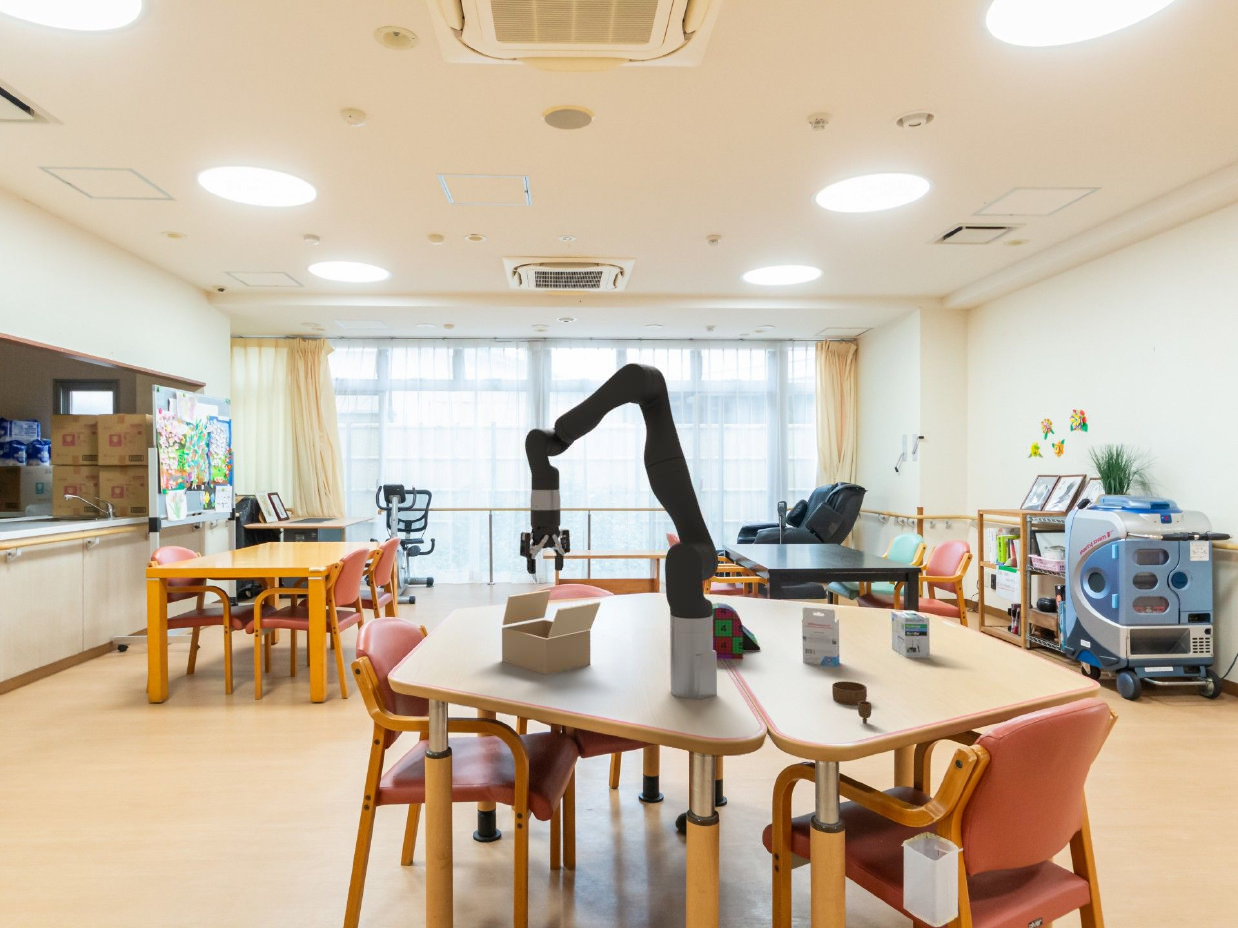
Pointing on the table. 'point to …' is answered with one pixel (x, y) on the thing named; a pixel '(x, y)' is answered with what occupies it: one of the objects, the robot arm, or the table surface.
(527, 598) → the far flap
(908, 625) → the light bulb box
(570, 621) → the near flap
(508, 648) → the carton
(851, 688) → the place setting
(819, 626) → the ink box
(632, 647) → the table surface
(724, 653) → the toy block train
